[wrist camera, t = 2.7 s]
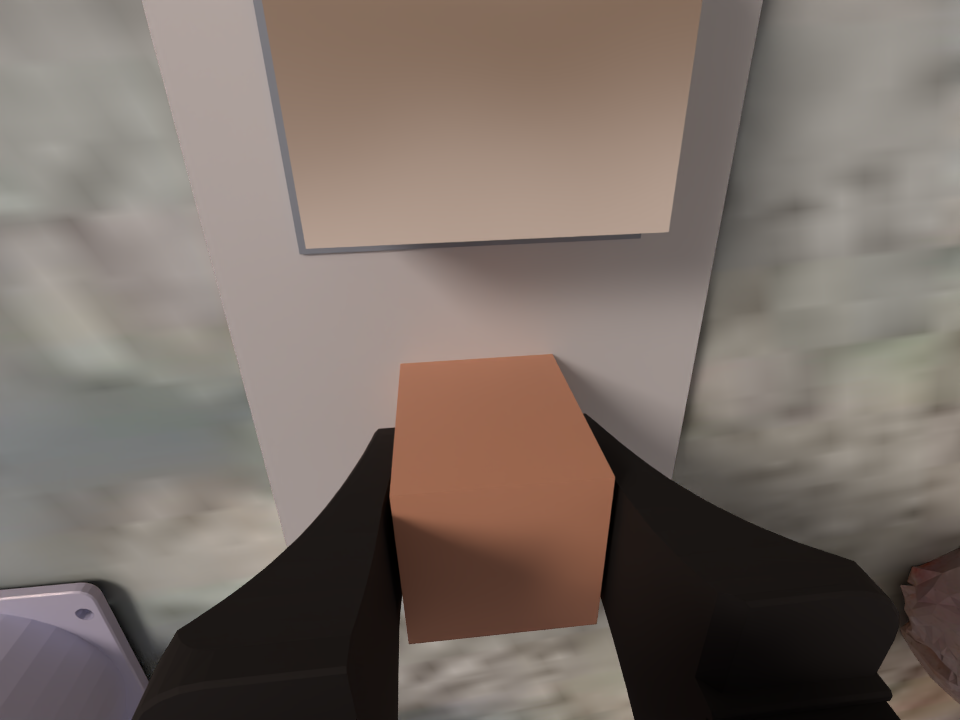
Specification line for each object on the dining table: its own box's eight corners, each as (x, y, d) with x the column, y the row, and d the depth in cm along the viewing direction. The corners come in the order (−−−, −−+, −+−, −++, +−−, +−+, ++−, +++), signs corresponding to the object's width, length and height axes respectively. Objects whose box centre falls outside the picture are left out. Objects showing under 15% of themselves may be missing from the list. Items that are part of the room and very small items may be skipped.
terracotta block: (546, 472, 15) (596, 624, 11) (412, 484, 15) (408, 644, 11) (552, 353, 14) (614, 477, 9) (400, 363, 13) (388, 496, 9)
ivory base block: (603, 196, 12) (668, 232, 9) (337, 207, 11) (306, 248, 8) (633, -156, 9) (744, -288, 6) (284, -162, 9) (207, -308, 5)
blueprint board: (659, 501, 17) (667, 513, 17) (290, 533, 16) (286, 548, 16) (802, -294, 9) (826, -319, 8) (70, -322, 8) (45, -353, 7)
